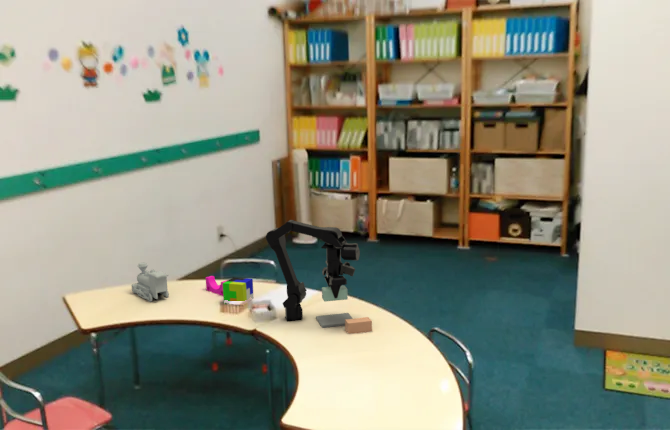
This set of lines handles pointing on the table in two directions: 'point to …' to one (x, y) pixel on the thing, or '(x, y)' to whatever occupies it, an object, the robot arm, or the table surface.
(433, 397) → the table surface
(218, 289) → the toy block
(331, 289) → the robot arm
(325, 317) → the baseplate
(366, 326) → the terracotta brick
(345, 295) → the teal brick
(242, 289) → the puzzle toy
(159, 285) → the toy train
